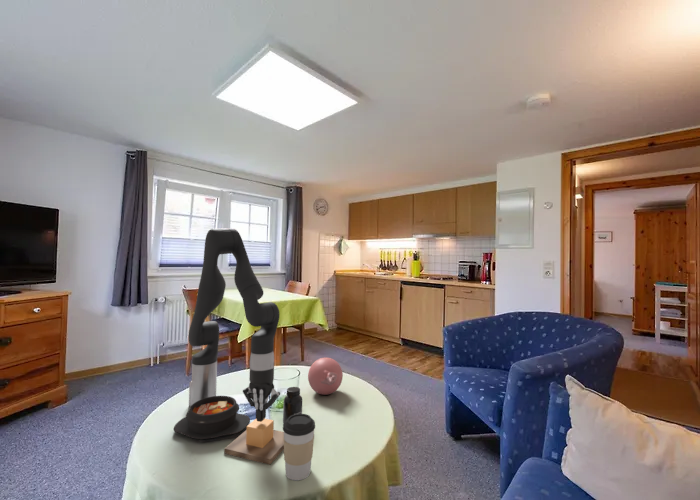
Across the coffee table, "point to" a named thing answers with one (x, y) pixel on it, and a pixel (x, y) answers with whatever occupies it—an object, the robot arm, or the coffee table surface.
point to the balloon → (325, 376)
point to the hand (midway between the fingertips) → (260, 420)
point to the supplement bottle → (292, 403)
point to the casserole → (212, 418)
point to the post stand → (257, 448)
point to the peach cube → (259, 432)
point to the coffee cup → (298, 445)
